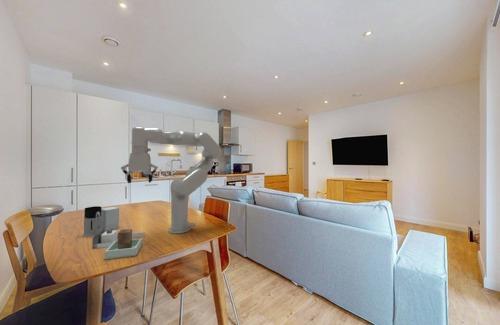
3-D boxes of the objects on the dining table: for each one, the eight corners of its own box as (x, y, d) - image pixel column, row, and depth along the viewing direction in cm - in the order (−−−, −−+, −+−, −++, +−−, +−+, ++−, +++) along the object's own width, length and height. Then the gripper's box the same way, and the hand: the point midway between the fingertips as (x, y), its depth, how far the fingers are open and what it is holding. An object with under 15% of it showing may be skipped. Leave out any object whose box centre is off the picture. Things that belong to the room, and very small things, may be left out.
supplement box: (119, 228, 121) (119, 207, 121) (105, 231, 115) (105, 210, 115) (113, 226, 125) (113, 206, 125) (99, 229, 119) (100, 208, 119)
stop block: (131, 248, 92) (132, 228, 92) (129, 252, 87) (129, 232, 87) (120, 249, 90) (120, 229, 90) (117, 253, 86) (117, 233, 86)
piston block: (117, 239, 102) (117, 227, 102) (112, 244, 97) (113, 231, 97) (105, 240, 101) (106, 228, 101) (100, 245, 95) (101, 232, 95)
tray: (141, 245, 96) (142, 238, 96) (135, 256, 85) (136, 248, 85) (114, 248, 93) (114, 241, 93) (104, 259, 81) (104, 251, 82)
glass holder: (99, 230, 117) (99, 205, 117) (108, 235, 109) (109, 208, 109) (80, 234, 110) (80, 208, 110) (89, 240, 102) (89, 211, 102)
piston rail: (144, 236, 109) (144, 227, 109) (140, 243, 98) (140, 233, 98) (102, 240, 103) (102, 230, 103) (92, 248, 92) (92, 238, 92)
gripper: (158, 151, 111) (158, 181, 111) (123, 150, 105) (123, 182, 105) (156, 150, 104) (156, 182, 104) (118, 149, 98) (118, 183, 98)
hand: (139, 182), depth 105 cm, fingers open, 9 cm apart
